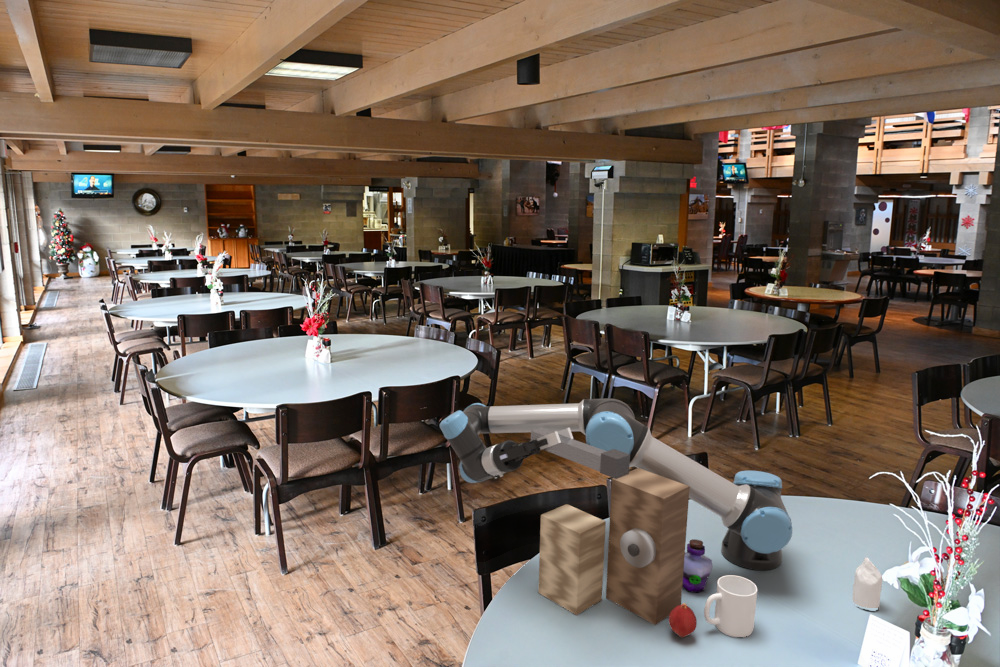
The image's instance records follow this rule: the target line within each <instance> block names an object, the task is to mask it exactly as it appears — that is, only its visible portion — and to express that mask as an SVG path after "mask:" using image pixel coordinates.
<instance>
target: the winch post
mask: <svg viewBox="0 0 1000 667" xmlns="http://www.w3.org/2000/svg"><path fill="white" fill-rule="evenodd" d="M610 488H611V489H610V506H609V507H610V508H609V509H610V510H609V525H608V526H609V528H608V547H607V548H608V549H607V566H606V568H607V570H606V587H605V588H606V590H605V598H606V599H607V600H609V601H610V600H611V602H612V601H613V602H612V603H614V604H616V603H617V604H616V605H618V604H619V605H618V606H620V607H621V606H622V608H623V607H624V609H626V610H627V611H629V612H631V613H632V614H635V615H636V616H638V617H639V618H642V619H644V620H645V621H647V622H649V623H651V624H653V625H654V626H656V625H658V624H660V623H661V622H662V621H663V620H665V619H666V618H669V615H670V612H671V611H672V610H673V609H674V608H675V607H676V606H678V605H681V604H682V594H683V588H682V584H683V570H684V557H685V553H686V539H687V527H688V515H689V500H690V498H689V490H690V486H687V485H685V484H682V483H679V482H676V481H673V480H671V479H668V478H665V477H662V476H659V475H657V474H654V473H651V472H648V471H645V470H643V469H640V468H637V467H636V468H635V469H631V470H629V474H628V475H625V476H623V477H620V478H618V479H615V478H612V477H611V487H610Z"/></svg>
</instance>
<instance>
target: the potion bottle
mask: <svg viewBox="0 0 1000 667" xmlns="http://www.w3.org/2000/svg"><path fill="white" fill-rule="evenodd" d="M705 554H706V548H705V545H704V542H703V541H702V540H701V539H691V540H689V543H687V544H686V551H685V557H684V570H683V584H682V590H683V589H684V590H685V591H686V592H688V593H694V594H695V593H696V594H699V593H703V592H704V591H705V587H706V584H707V581H708V578H710V575H711V572H712V570H713V561H712V558H709V557H708V556H706V555H705Z"/></svg>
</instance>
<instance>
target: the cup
mask: <svg viewBox="0 0 1000 667" xmlns="http://www.w3.org/2000/svg"><path fill="white" fill-rule="evenodd" d="M716 583H717V584H716V593H713V594H710V595H709V596H708V598H706V601H705V605H704V610H703V613H704V620H705V621H706V622H707V623H708V624H710V625H715V627H716V628H717V629H718V630H719V631H720V632H721V633H722V634H724V635H727V636H729V637H732V638H737V637H743V638H747V637H749V636H750V635H751V634H753V631H754V627H755V618H756V610H757V609H756V608H757V599H758V598H757V597H758V587H757V585H756V583H755V582H753V581H752V580H751V579H748V578H746V577H743V576H740V575H734V574H733V575H732V574H730V575H729V574H727V575H722V576H721V577H719V578H718V579H717V582H716ZM714 601H715V606H714V607H715V608H714V618H712V617H710V609H711V605H712V603H713V602H714ZM746 636H747V637H746Z"/></svg>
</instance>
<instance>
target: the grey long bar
mask: <svg viewBox="0 0 1000 667" xmlns="http://www.w3.org/2000/svg"><path fill="white" fill-rule="evenodd" d="M551 433H553V432H551V431H549V430H546V429H543V428H539V429H536V430H532V431H531V432H530V441H532V440H536V442H537V439H538V438H540V437H543V436H545V435H548V434H551ZM558 435H559V438H560V441H561V443H558V444H556V445H553V446H550V447H547V448H545V449H543V451H545V452H548V453H551V454H554V455H556V456H558V457H561V458H564V459H566V460H568V461H571V462H574V463H577V464H578V465H582V466H584V467H587V468H589V469H592V470H595V471H597V472H599V473H600V474H601V475H605V476H607V477H610V478H611V479H612V478H615V479H618V478H620V477H623V476H625V475H628V474H629V471H630V468H629V465H630V454H627V453H624V452H621V451H618V450H616V449H612V450H609V451H605V450H602V449H599V448H596V447H593V446H591V445H588V444H587V443H585V442H581V441H579V440H576V439H574V438H573V439H571V438H568V437H565V436H563V435H560V434H558ZM539 448H540V447H539Z"/></svg>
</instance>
